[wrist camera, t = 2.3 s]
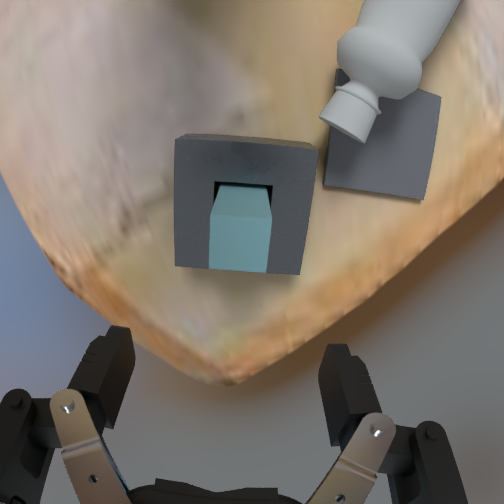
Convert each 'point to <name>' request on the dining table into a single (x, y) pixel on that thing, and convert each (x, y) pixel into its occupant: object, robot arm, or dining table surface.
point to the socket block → (243, 171)
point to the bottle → (384, 58)
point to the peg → (240, 228)
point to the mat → (387, 147)
